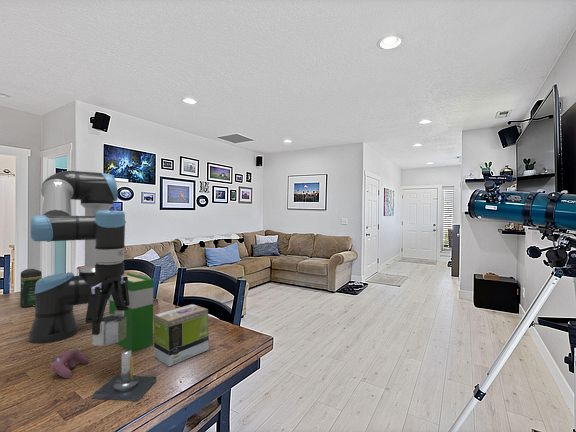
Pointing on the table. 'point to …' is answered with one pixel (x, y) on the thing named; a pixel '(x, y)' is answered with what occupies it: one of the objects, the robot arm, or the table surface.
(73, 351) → the video game controller
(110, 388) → the block
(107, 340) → the hub
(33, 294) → the coffee jar
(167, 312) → the tea box
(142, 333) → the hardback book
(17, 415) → the table surface
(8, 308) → the table surface
